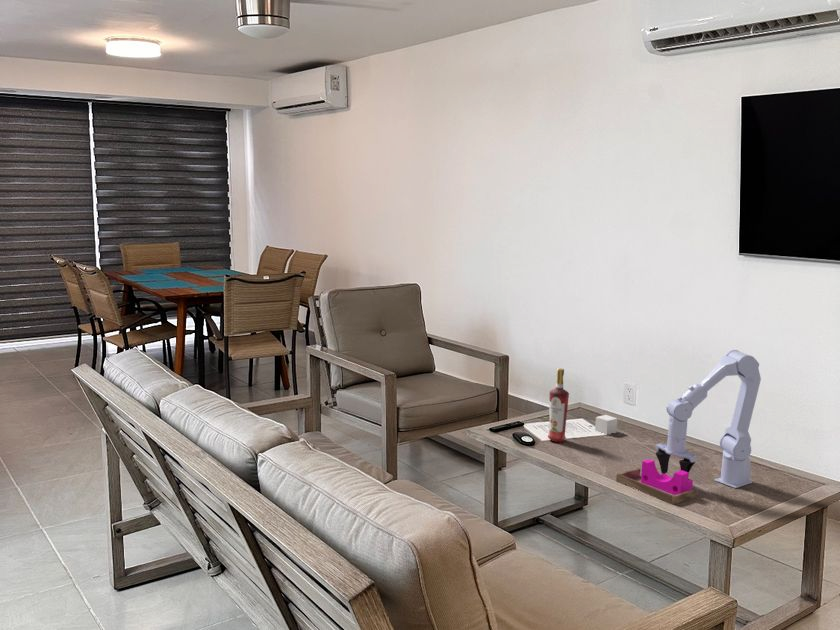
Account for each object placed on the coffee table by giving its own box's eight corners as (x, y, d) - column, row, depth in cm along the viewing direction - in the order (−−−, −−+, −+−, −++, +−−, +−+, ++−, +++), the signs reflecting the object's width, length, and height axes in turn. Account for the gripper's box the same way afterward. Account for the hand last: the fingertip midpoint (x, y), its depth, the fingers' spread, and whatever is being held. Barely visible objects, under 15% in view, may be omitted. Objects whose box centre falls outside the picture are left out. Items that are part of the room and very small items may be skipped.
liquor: (544, 441, 293) (547, 369, 288) (550, 436, 299) (554, 366, 294) (562, 444, 289) (566, 372, 285) (569, 439, 295) (572, 368, 291)
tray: (638, 475, 259) (638, 468, 259) (695, 497, 241) (695, 490, 240) (616, 481, 253) (616, 473, 253) (672, 504, 235) (673, 497, 234)
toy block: (691, 493, 245) (693, 471, 243) (680, 497, 241) (681, 475, 240) (652, 478, 256) (654, 457, 255) (640, 482, 253) (642, 461, 252)
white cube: (616, 433, 306) (617, 418, 305) (606, 435, 302) (607, 420, 301) (604, 429, 310) (605, 414, 309) (594, 431, 307) (595, 416, 306)
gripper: (650, 432, 253) (647, 471, 255) (687, 445, 241) (684, 486, 244) (664, 429, 257) (661, 468, 259) (701, 441, 245) (698, 481, 247)
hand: (673, 476), depth 252 cm, fingers open, 7 cm apart
